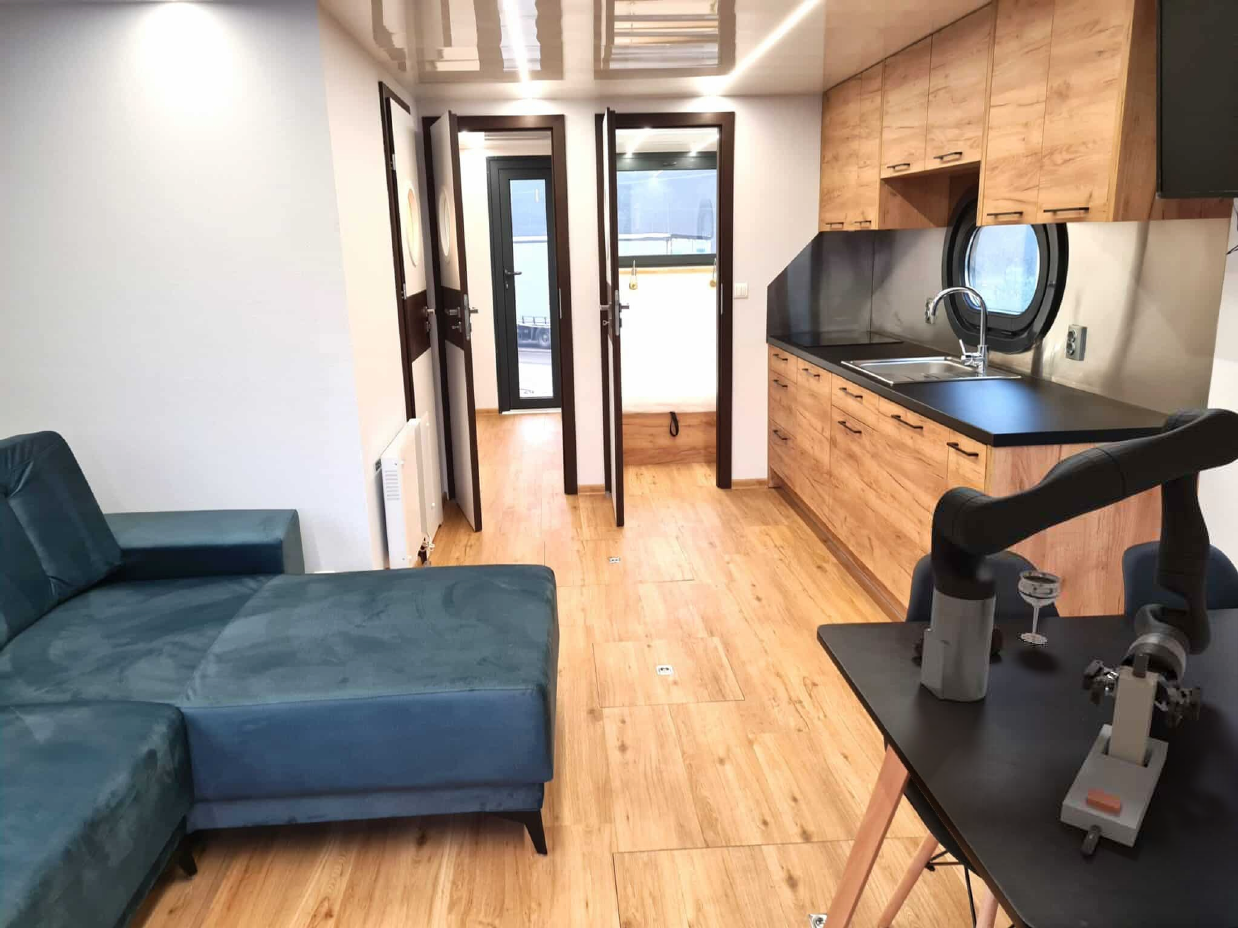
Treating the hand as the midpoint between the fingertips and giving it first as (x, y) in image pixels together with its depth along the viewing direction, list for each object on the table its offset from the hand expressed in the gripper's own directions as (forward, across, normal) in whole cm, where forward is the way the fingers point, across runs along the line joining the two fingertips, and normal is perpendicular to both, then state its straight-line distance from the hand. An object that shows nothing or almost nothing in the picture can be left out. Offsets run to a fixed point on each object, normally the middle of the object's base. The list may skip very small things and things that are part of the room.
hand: (1132, 709), depth 119 cm
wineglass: (-37, -21, +10) cm, 44 cm away
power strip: (+7, 0, +9) cm, 12 cm away
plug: (-1, 0, +10) cm, 10 cm away
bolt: (-22, -30, +10) cm, 39 cm away
